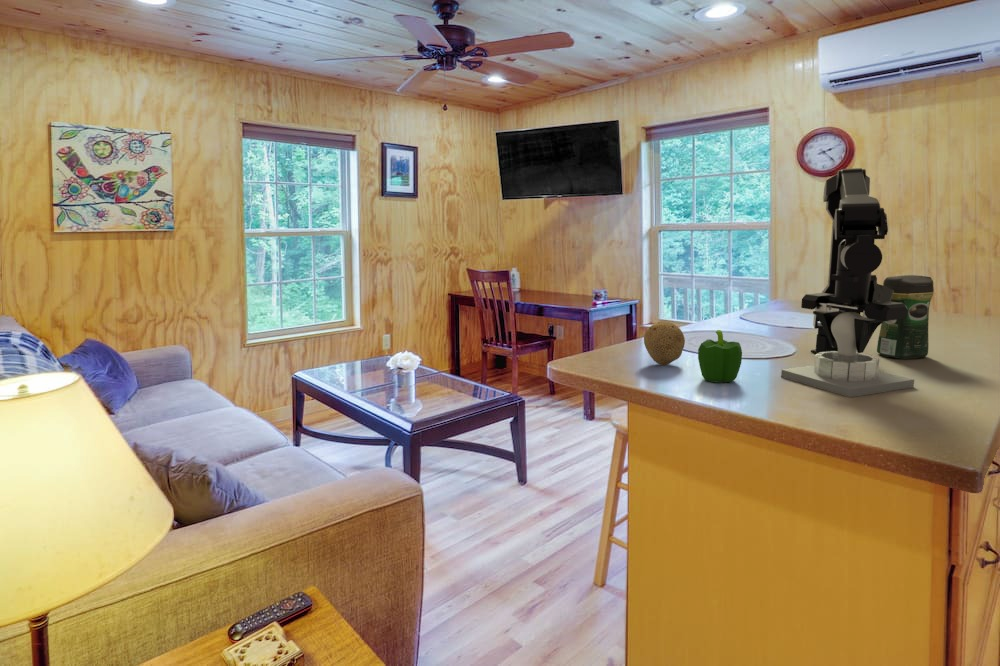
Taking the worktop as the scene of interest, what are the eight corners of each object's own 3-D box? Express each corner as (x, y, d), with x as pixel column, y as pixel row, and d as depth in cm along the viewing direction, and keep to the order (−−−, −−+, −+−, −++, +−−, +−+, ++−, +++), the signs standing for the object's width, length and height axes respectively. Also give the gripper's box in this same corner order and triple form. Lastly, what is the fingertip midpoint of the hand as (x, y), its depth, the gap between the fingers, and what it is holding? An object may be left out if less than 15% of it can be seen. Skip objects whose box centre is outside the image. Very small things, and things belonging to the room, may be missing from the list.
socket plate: (840, 368, 127) (840, 361, 126) (913, 387, 112) (914, 379, 112) (781, 376, 121) (781, 369, 121) (849, 397, 107) (850, 389, 106)
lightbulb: (856, 363, 119) (861, 309, 117) (869, 371, 113) (874, 314, 111) (823, 363, 120) (827, 309, 118) (834, 370, 114) (838, 314, 112)
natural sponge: (652, 358, 140) (653, 316, 139) (690, 362, 135) (691, 319, 134) (637, 366, 133) (638, 322, 131) (676, 371, 128) (678, 325, 126)
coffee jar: (906, 351, 141) (914, 273, 138) (934, 358, 133) (943, 275, 130) (869, 353, 140) (876, 274, 136) (895, 360, 132) (903, 277, 129)
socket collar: (842, 365, 123) (843, 349, 122) (889, 377, 113) (891, 359, 113) (802, 371, 120) (804, 354, 119) (848, 383, 110) (850, 365, 109)
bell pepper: (736, 388, 114) (739, 337, 113) (693, 382, 119) (694, 333, 117) (744, 377, 121) (746, 329, 120) (703, 373, 126) (704, 327, 124)
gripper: (933, 270, 107) (924, 355, 109) (843, 264, 124) (837, 337, 127) (888, 274, 103) (880, 361, 106) (801, 267, 120) (796, 342, 123)
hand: (847, 349), depth 116 cm, fingers closed on lightbulb, 5 cm apart
